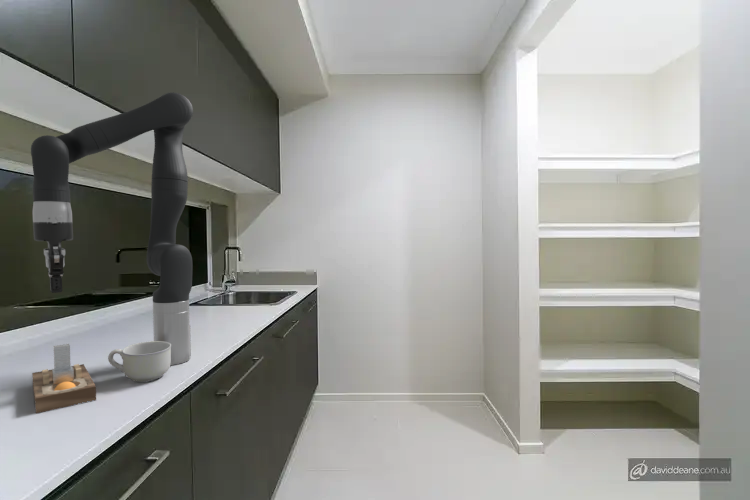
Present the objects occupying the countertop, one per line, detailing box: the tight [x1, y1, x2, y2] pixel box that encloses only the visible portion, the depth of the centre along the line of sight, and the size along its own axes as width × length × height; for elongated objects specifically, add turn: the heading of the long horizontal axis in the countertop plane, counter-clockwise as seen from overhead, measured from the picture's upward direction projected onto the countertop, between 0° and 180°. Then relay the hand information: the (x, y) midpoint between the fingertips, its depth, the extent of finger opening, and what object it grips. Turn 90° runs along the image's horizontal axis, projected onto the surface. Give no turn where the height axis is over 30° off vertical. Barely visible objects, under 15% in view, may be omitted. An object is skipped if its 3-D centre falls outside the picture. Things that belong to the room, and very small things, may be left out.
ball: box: [54, 382, 76, 391], centre depth 88 cm, size 4×4×4 cm
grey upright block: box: [51, 343, 74, 384], centre depth 91 cm, size 4×4×8 cm
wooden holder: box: [31, 363, 97, 414], centre depth 93 cm, size 21×10×5 cm, turn 41°
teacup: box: [107, 340, 171, 383], centre depth 102 cm, size 14×11×8 cm
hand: (56, 292), depth 100 cm, fingers closed
